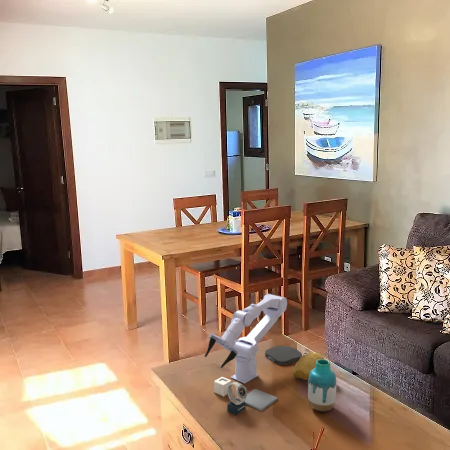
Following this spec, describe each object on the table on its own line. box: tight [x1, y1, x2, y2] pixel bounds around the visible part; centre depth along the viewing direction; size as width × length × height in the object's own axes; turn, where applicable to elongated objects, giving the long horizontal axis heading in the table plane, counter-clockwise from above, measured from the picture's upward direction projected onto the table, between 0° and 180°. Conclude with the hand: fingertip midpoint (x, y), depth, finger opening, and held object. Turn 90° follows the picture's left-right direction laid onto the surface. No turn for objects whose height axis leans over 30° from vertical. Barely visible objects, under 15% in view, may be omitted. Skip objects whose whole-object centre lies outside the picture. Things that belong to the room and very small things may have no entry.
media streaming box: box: [264, 345, 303, 366], centre depth 234 cm, size 15×15×3 cm
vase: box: [307, 358, 337, 412], centre depth 189 cm, size 11×11×19 cm
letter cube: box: [213, 376, 232, 397], centre depth 202 cm, size 5×5×5 cm
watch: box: [226, 381, 248, 416], centre depth 188 cm, size 6×8×11 cm
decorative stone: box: [292, 351, 325, 381], centre depth 212 cm, size 13×15×15 cm
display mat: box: [244, 388, 278, 412], centre depth 196 cm, size 11×11×1 cm
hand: (213, 361), depth 196 cm, fingers open, 7 cm apart
